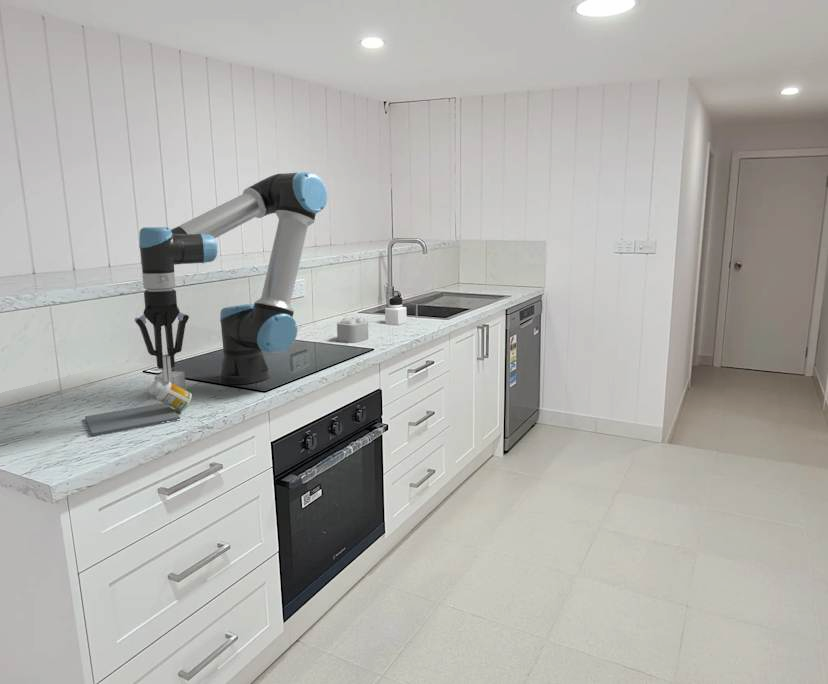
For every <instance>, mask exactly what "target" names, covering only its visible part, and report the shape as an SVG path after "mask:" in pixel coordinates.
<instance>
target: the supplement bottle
mask: <svg viewBox="0 0 828 684" xmlns="http://www.w3.org/2000/svg"><path fill="white" fill-rule="evenodd" d="M148 393H150V394H151V395H153V396H155V399H156V400H157V401H159V402H161V403H165V404H167V405H169V406H170V407H171V408H172V409H175V410H177V411H179V412H183V411H184V410H186V409H187V408H188V407H189V405H190V404H191V401H192V397H193V395H192V393H191V392H190V391H187V389H186V390H184V389H182V388H180V387H178V386H176V385H174V384H173V383H171V382H168V381H167V382H164V383H163V381H161V380H159V379H156V380H155V379H154V380H153V382H152V383H151V385H150V387H149V389H148Z"/></svg>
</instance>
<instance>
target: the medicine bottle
mask: <svg viewBox="0 0 828 684" xmlns="http://www.w3.org/2000/svg"><path fill="white" fill-rule="evenodd" d="M388 306H389V307H385V309H384V315H385V316H384V322H385V325H394V326H400V325H403V324H406V323H408V322H407V318H408V317H407V316H408V315H407V314H408V313H407V307H406V306H403V297H402V296H391V297H389V298H388Z"/></svg>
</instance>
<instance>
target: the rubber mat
mask: <svg viewBox="0 0 828 684" xmlns="http://www.w3.org/2000/svg"><path fill="white" fill-rule="evenodd" d="M84 419H85V422H86V424H87V427H88V428H89V429H88V430H89V431H90V434H91V436H92V437H97V435H99V436H102V435H101V434H104V435H107V434H106V433H109V434H113V433H112V432H115V433H118V432H117V431H120V432H123V430H125V431H129V430H128V429H131V430H133V429H132V428H136V429H140V428H139V427H141V428H144V427H143V426H147V425H152V424H157V423H162V422H167V421H173V420H177V419H180V420H181V417H180V415H179V414H178V413H177V412H176V411H175V410H174V408H173V407H171V406H169V405H167V404H165V403H163V402H161V403H154V404H149V405H144V406H138V407H137V406H136V407H131V408H126V409H121V410H115V411H108V412H102V413H97V414H91V415H90V414H89V415H85V416H84ZM173 422H174V421H173ZM162 424H163V423H162ZM157 425H158V424H157ZM152 426H153V425H152ZM147 427H148V426H147Z"/></svg>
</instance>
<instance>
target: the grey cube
mask: <svg viewBox="0 0 828 684" xmlns="http://www.w3.org/2000/svg"><path fill="white" fill-rule="evenodd" d="M185 374H186V373H185V371H173V370H171V375H172V381H168V382H171V383H173V384H174V385H176V386H178V387H180V388H182V389H184V390H186V391H187V384H186V375H185ZM153 379H154V381H155V380H156V379H159V380H161V381H163V380H162V372H161V373H159V374H157V375H154V377H153ZM163 383H164V381H163Z"/></svg>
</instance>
